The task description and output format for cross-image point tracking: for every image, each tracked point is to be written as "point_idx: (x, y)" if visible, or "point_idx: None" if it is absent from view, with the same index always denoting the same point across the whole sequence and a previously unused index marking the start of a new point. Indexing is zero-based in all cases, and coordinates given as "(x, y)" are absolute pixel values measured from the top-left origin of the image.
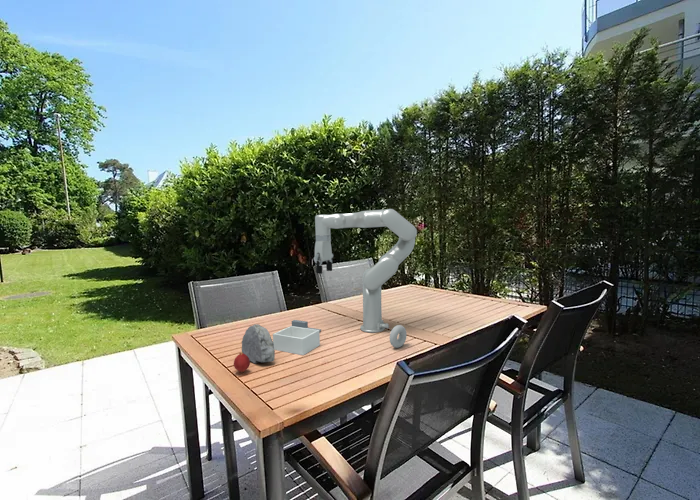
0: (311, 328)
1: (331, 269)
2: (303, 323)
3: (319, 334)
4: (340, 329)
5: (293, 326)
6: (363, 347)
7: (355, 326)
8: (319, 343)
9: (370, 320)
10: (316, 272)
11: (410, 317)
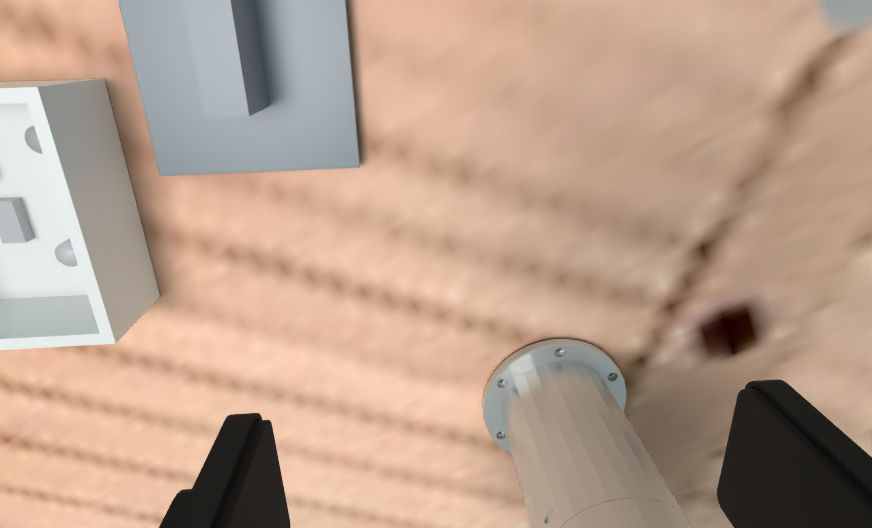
0: (339, 86)
1: (743, 523)
2: (204, 103)
3: (129, 328)
4: (470, 245)
5: (41, 119)
6: None
7: (565, 295)
8: (151, 302)
9: (513, 458)
10: (223, 428)
11: None
